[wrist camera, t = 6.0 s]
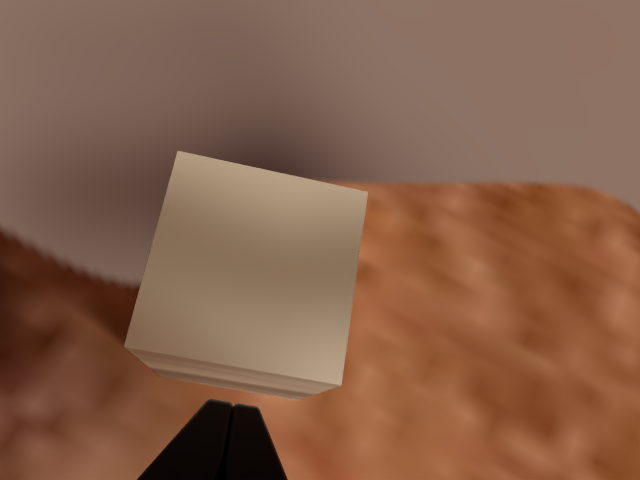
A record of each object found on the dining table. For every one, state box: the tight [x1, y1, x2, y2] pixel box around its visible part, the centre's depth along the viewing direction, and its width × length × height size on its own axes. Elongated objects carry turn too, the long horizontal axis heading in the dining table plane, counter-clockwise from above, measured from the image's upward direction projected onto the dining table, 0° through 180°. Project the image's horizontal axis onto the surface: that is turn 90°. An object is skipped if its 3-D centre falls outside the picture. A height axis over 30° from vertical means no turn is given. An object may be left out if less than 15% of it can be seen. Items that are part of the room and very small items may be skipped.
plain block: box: [124, 151, 368, 400], centre depth 17 cm, size 5×5×8 cm
